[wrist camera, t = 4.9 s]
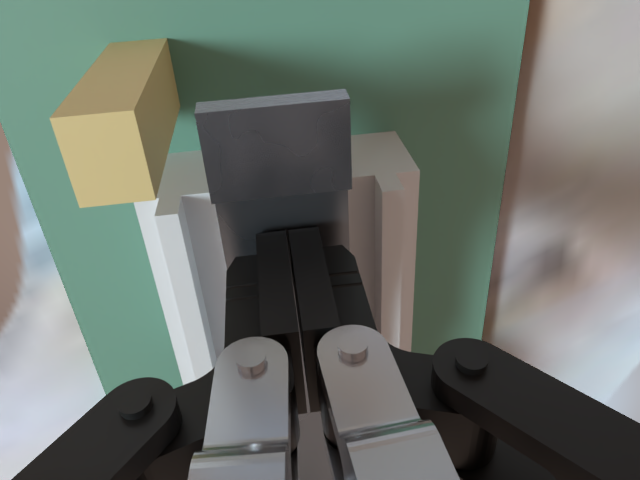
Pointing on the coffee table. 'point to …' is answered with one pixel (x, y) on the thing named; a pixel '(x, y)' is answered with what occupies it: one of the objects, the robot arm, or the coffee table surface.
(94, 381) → the coffee table surface
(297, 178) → the gray bar
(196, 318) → the board
